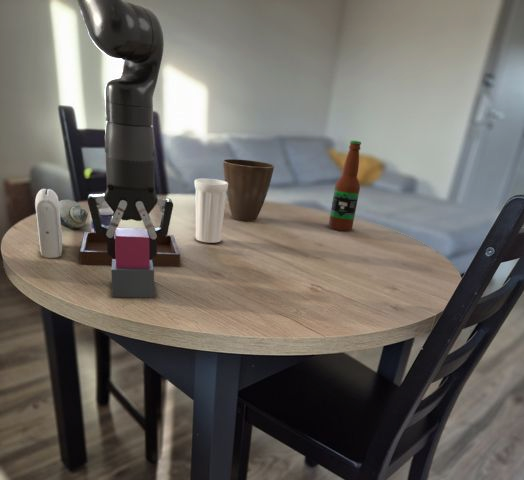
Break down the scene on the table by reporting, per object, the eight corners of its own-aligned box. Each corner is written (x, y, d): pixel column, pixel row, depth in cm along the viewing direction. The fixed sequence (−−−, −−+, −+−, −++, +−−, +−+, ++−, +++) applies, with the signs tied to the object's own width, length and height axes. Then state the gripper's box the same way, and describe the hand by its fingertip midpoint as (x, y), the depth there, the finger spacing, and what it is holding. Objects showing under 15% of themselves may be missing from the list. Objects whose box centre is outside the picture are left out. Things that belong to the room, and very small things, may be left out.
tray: (80, 264, 96) (79, 251, 94) (85, 243, 108) (84, 231, 107) (179, 266, 101) (180, 254, 100) (173, 246, 113) (173, 235, 112)
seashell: (79, 226, 125) (83, 239, 115) (49, 214, 121) (51, 225, 111) (88, 204, 123) (93, 214, 114) (58, 190, 119) (61, 200, 110)
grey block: (112, 297, 83) (111, 269, 81) (112, 282, 89) (112, 256, 86) (153, 297, 85) (154, 270, 82) (151, 283, 91) (151, 257, 88)
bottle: (324, 228, 147) (339, 139, 135) (332, 224, 153) (347, 139, 141) (347, 233, 144) (364, 143, 133) (354, 228, 150) (371, 142, 139)
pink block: (116, 268, 81) (114, 236, 79) (116, 258, 86) (115, 227, 84) (149, 268, 83) (149, 237, 80) (147, 258, 88) (147, 228, 85)
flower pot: (209, 214, 147) (212, 158, 139) (247, 211, 156) (252, 159, 149) (239, 226, 137) (244, 167, 130) (278, 222, 146) (284, 167, 139)
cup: (190, 235, 123) (193, 177, 117) (222, 237, 125) (226, 179, 118) (193, 244, 116) (195, 183, 110) (226, 246, 118) (231, 185, 111)
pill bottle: (119, 236, 116) (118, 198, 112) (108, 241, 111) (106, 202, 107) (99, 232, 117) (97, 194, 112) (87, 237, 112) (85, 198, 108)
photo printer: (62, 258, 98) (57, 195, 92) (39, 258, 96) (32, 194, 90) (63, 243, 106) (58, 185, 100) (41, 243, 104) (35, 184, 99)
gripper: (173, 155, 81) (171, 253, 89) (83, 148, 77) (90, 250, 85) (178, 162, 75) (175, 266, 83) (80, 154, 71) (87, 264, 79)
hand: (132, 257), depth 84 cm, fingers closed on pink block, 5 cm apart
